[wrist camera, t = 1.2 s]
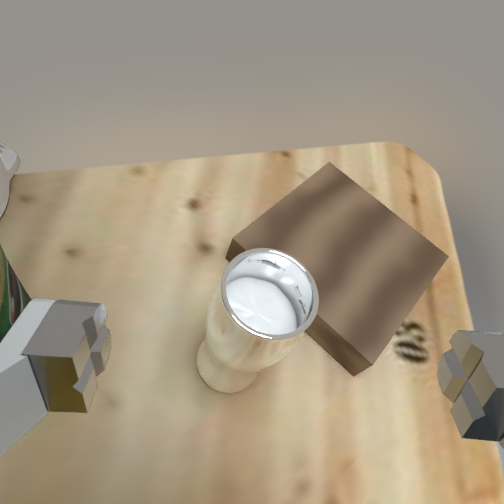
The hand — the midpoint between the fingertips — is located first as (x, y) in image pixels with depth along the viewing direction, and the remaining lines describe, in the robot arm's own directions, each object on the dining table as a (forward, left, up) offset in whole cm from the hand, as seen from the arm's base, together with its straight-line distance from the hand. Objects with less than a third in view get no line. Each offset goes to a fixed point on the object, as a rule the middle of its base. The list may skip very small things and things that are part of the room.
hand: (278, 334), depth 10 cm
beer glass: (-3, +9, -29) cm, 30 cm away
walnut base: (-2, +26, -29) cm, 39 cm away
